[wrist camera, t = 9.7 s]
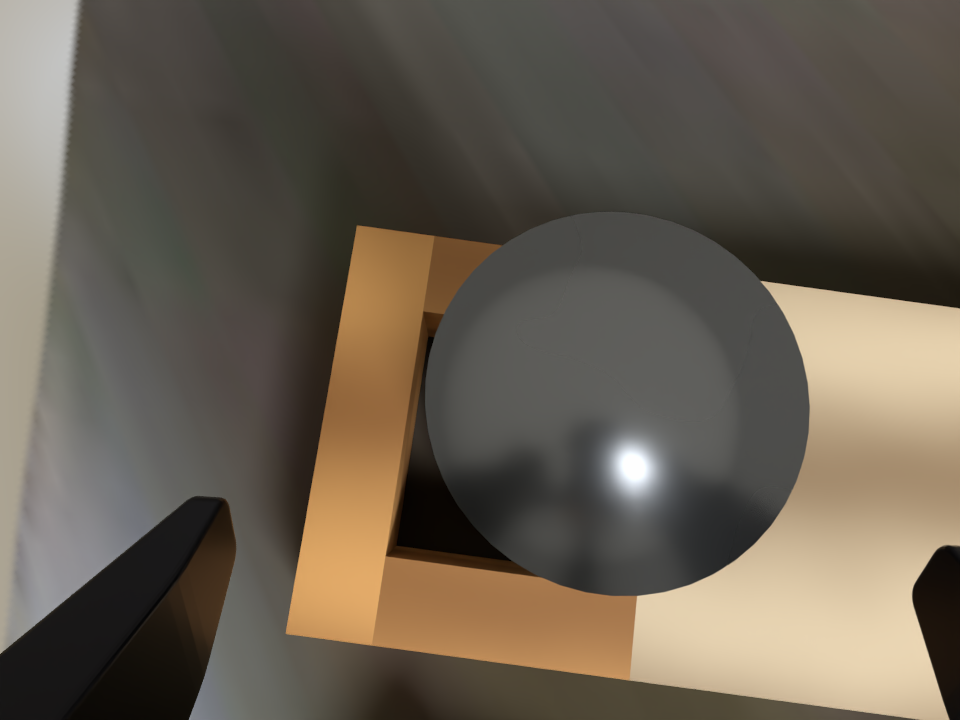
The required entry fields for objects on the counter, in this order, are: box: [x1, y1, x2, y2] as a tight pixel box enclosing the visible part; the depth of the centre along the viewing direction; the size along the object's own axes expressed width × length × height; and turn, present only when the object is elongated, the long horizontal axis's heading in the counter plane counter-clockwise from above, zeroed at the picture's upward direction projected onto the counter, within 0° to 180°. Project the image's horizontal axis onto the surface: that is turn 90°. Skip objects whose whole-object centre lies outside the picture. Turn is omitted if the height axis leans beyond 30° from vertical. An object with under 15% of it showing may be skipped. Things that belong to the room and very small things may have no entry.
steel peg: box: [425, 212, 810, 596], centre depth 14 cm, size 4×4×13 cm
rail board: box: [286, 225, 960, 720], centre depth 19 cm, size 10×25×3 cm, turn 82°
